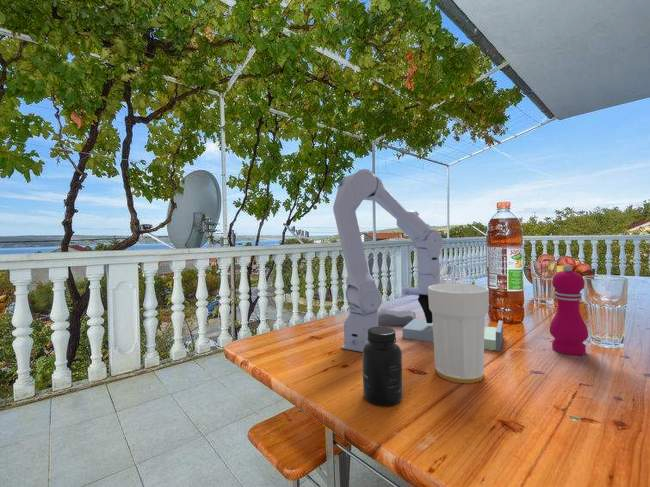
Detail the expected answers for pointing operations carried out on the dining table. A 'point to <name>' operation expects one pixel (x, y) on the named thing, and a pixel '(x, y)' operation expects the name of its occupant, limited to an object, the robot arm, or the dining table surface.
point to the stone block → (395, 317)
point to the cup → (459, 330)
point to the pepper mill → (568, 314)
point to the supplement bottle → (382, 367)
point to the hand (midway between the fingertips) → (429, 322)
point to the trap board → (425, 332)
